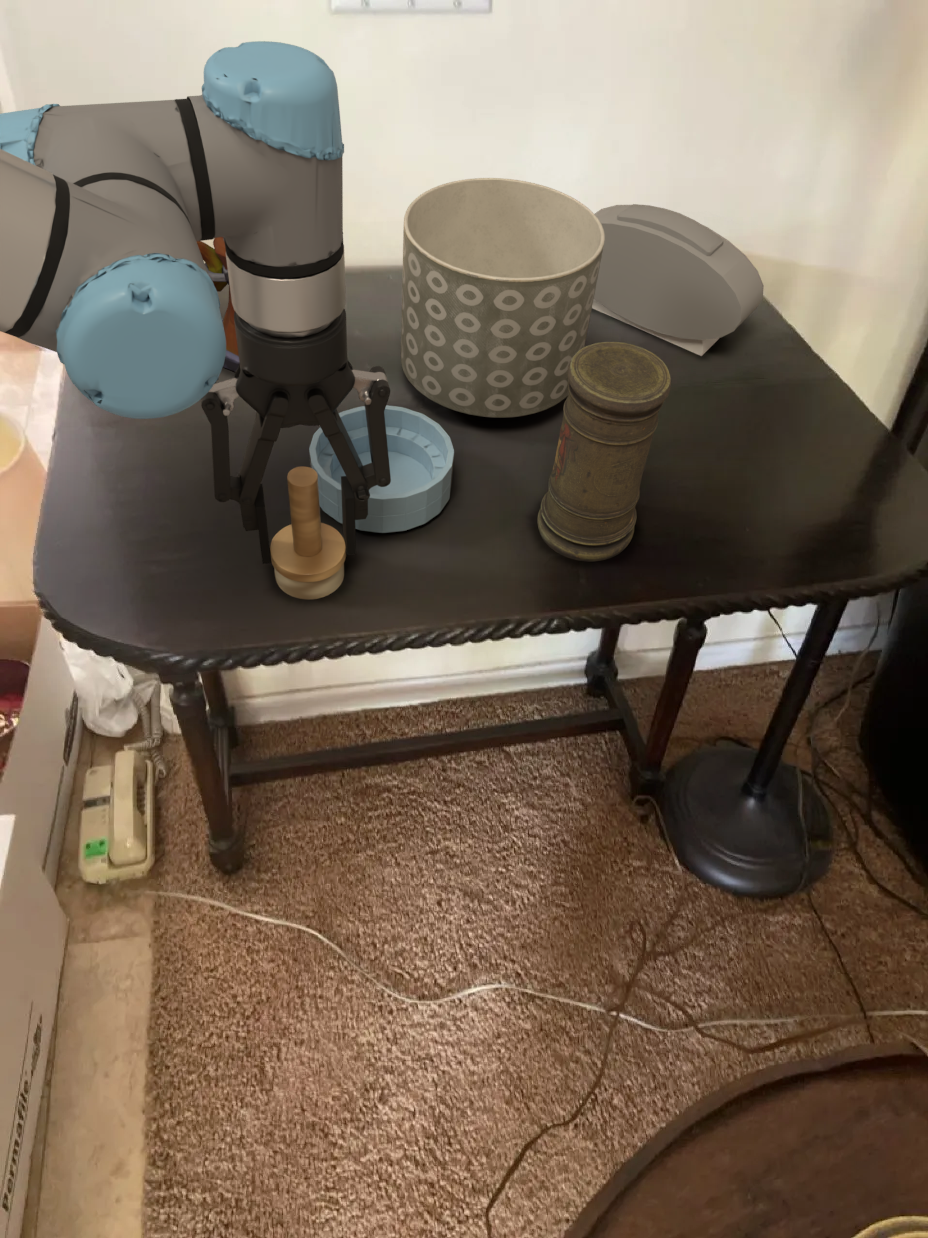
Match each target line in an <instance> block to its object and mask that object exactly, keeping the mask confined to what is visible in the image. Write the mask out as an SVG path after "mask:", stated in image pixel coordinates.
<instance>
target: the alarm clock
mask: <svg viewBox="0 0 928 1238" xmlns="http://www.w3.org/2000/svg"><path fill="white" fill-rule="evenodd" d="M594 214H595V215H596V217H597V218H598V219H599V221H600V223H601V224H602V227H603V230H604V234H605V242H604V247H603V252H602V257H601V263H600V268H599V273H598V278H597V284H596V289H595V294H594V299H593V305H592V309H593V310H595V311H597V312H599V313H601V314H605V315H606V316H609V317H611V318H613V319H616V320H618V321H620V322H622V323H624V324H627V325H630V326H631V327H633V328H636V329H638V330H641V331H643V332H645V333H648V334H650V335H652V336H653V337H657V338H659V339H661V340H664V341H666V342H668V343H671V344H673V345H675V346H677V347H680V348H682V349H683V350H687V351H689V352H691V353H693V354H695V355H698V356H700V357H702V356H703V355H704V354H706V352H708V351H709V349H711V347H712V346H714V345H715V343H716V342H717V341H718V340H719V339H720V338H723V337H725V336H727V335H730V334H731V333H733V332H735V331H736V330H737V328H738V327H739V326H741V325H742V324H743V323H744V322H745V320H747V319H748V318H749V317H750V316H751V315H752V314H753V313H754V311H755V310H757V308H758V307H759V305H760V304H761V303H762V301H763V300H764V287H765V286H764V283H763V280H762V278H761V276H760V273H759V271H758V269H757V268H756V267H755V265H754V264H753V263H752V261H751V260H750V259H749V258H748V256H747V255H746V254H745V253H743V251H741V250H740V249H739V248H738V247H736V246H735V244H733V243H732V242H731V241H730V240H729V239H727V238H725V237H724V236H722V235H721V234H719V233H717V232H716V231H715V230H713V229H711V228H710V227H708V226H706V225H704V224H702V223H700V222H698V221H697V220H695V219H693V218H691V217H689V216H687V215H685V214H682V213H680V212H677V211H674V210H670V209H668V208H664V207H661V206H660V207H659V206H654V205H651V204H650V205H649V204H636V203H635V204H634V203H633V204H615V205H611V206H608V207H607V206H606V207H603V208H601V209H599V210H598V211H596V212H594Z"/></svg>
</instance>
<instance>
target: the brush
mask: <svg viewBox="0 0 928 1238" xmlns="http://www.w3.org/2000/svg"><path fill="white" fill-rule="evenodd" d="M286 480H287V490H288V492H287V493H288V503H289V513H290V523H291V524H289V525H286V526H284V527H283V528H281V529H280V530H278V531H277V533H276V534H275V535H274V536H273V537H272V539H271V542H270V543H269V545H270V553H271V562H272V563H271V564H272V566H273V568H274V577H275V578H274V579H275V582H276V584H277V586H278V587H279V589H280V590H281V591H282V592H284V593H285V594H287V595H289V596H290V597H293V598H296V599H300V600H317V599H321V598H324V597H327V596H329V595H330V594H332V593H334V592H335V591H336V590H338V589H339V587H340V586H341V585H342V584H343V581H344V578H345V561H346V557H347V552H346V546H345V541H344V536H343V534H341V533H340V532H339V531H338V529H336V528H335V527H333V526H332V525H329V524H327V523H324V522H321V507H320V504H319V487H318V474H317V472H316V471H315V470H314V469H312V468H310V466H302V465H301V466H296V467H293V468H292V469H290V470H289V471H288V473H287V475H286Z"/></svg>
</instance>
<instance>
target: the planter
mask: <svg viewBox="0 0 928 1238" xmlns="http://www.w3.org/2000/svg"><path fill="white" fill-rule="evenodd" d="M402 231H403V236H402V242H403V243H402V279H401V280H402V281H401V283H402V284H401V323H400V324H401V325H400V364H401V367H402V371H403V373H404V375H405V377H406V379H407V380H408V381H409V383H410V384H411V386H413V387H414V388H415V389H416V390H417V391H418V392H419V393H420V394H421V395H423V396H425V397H426V398H427V399H429V400H430V401H432V402H434V403H436V404H438V405H440V406H442V407H444V408H447V409H449V410H452V411H455V412H457V413H458V412H459V413H463V414H465V415H470V416H477V417H483V418H484V417H485V418H496V419H497V418H500V419H501V418H517V417H525V416H528V415H533V414H536V413H540V412H543V411H546V410H548V409H550V408H553V407H555V406H556V405H557V404H559V403H561V402H562V401H563V400H565V399H567V398H568V394H569V389H568V382H569V380H568V375H567V370H568V365H569V363H570V361H571V359H572V357H573V356H574V355H575V354H576V353H577V352H578V351H579V350H581V349H582V348H584V347H586V341H587V335H588V331H589V326H590V319H591V314H592V309H593V308H592V305H593V299H594V294H595V289H596V284H597V278H598V273H599V268H600V263H601V257H602V252H603V247H604V242H605V234H604V230H603V227H602V224H601V223H600V221H599V219H598V218H597V217H596V215H595V212H593V211H592V210H591V209H590V208H589V207H587V206H586V205H585V204H584V203H582V202H581V201H580V200H578V199H576V198H574V197H572V196H571V195H569V194H568V193H565V192H562V191H560V190H557V189H555V188H552V187H549V186H546V185H542V184H539V183H535V182H531V181H526V180H520V179H512V178H501V177H477V178H475V177H474V178H466V179H459V180H454V181H450V182H447V183H442V184H440V185H437V186H434V187H432V188H430V189H428V190H426V191H424V192H422V193H421V194H420V195H418V196H417V197H416V198H415V199H413V200H412V201H411V203H410V204H409V205H408V206H407V208H406V211H405V213H404V217H403V230H402Z"/></svg>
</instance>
